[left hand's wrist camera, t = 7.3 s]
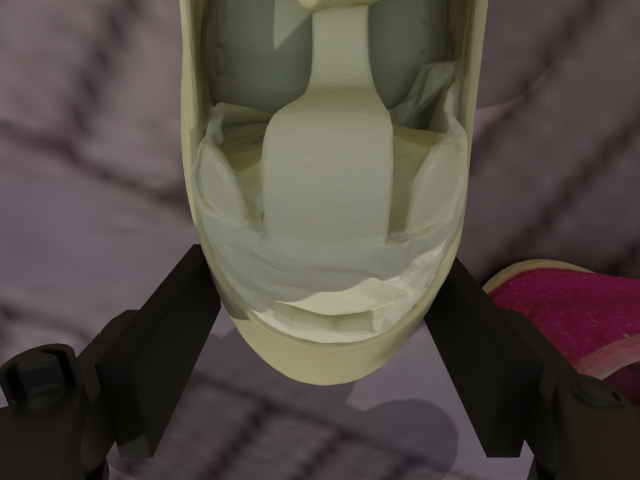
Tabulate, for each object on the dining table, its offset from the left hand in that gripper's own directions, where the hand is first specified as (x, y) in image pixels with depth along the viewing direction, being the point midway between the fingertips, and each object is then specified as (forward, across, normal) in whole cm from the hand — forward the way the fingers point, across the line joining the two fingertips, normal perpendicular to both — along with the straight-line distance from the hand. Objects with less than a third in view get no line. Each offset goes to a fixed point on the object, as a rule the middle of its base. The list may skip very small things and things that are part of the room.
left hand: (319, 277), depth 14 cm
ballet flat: (0, 0, -8) cm, 8 cm away
